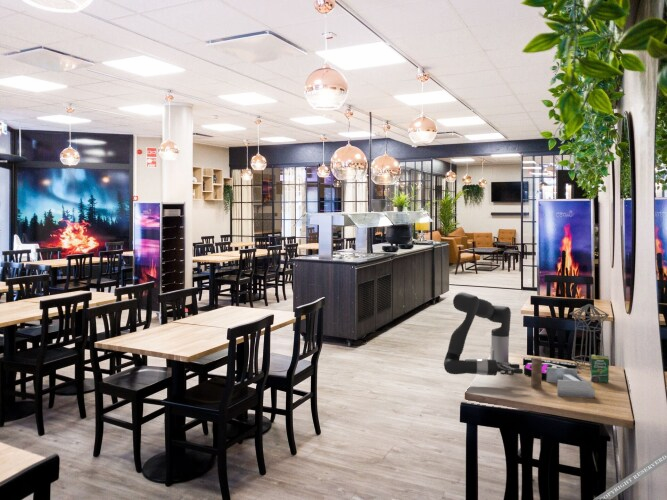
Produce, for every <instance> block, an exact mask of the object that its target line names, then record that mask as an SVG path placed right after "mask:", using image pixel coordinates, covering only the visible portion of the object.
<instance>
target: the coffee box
mask: <svg viewBox="0 0 667 500" xmlns="http://www.w3.org/2000/svg"><path fill="white" fill-rule="evenodd" d="M590 357H591V358H590V362H591V364H590V365H591V370H590V382H595V383H604V384H606V383H607V384H608V383H609V379H610V376H609V374H610V373H609V371H610V370H609V367H610V366H609V365H610V363H609V359H610V358H609V355H604V356H603V355H602V356H601V354H599V355H598V354H597V355H596V354H595V355H594V354H591V355H590Z"/></svg>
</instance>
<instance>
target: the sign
mask: <svg viewBox="0 0 667 500" xmlns="http://www.w3.org/2000/svg"><path fill="white" fill-rule="evenodd" d="M541 359H542V381H546V372H547V367H550V368H570V369H577V370H578V368H577V363H572V362H569V361H561V360H552V359H543V358H541ZM522 365H523V375H524V374H525V375H524V376H527V375H528V376H527V377H530V376H532V357H531V358H530V357H523V358H522ZM524 365H525V366H524Z"/></svg>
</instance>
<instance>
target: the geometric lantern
mask: <svg viewBox="0 0 667 500" xmlns="http://www.w3.org/2000/svg"><path fill="white" fill-rule="evenodd" d="M589 308H590V310H591V311H588V309H589ZM599 311H600V312H601V313H600V312H599ZM583 313H584V314H583ZM582 314H583V315H582ZM586 314H587V316H586ZM569 315H571V316H573V318H574V335H573V336H574V337H573V344H572V350H571V352H572V353H571V360H572V361H573V362H575V364H576V365H577V369H582V370H588V371H591V355H592V354H591V352H592V351H591V346H592V332H593V355H596V332H599V331H600V333H601V334H600V337H601V339H600V340H601V341H600V355H601V356H605V351H604V350H605V349H604V328H603V325H604V321H605V320H606V319H607V318H608V317H609V316H610V315H609V314H608V313H607V312H605V311H603V310H601V309H599V308H598V307H596V306H594V305H593V304H591V303H587V304H586V305H584V306H582V307H580V308H578V309H576V310H574V311H572V312H569ZM595 316H596V317H595ZM581 318H582V319H583V320H582V319H581ZM585 318H587V319H586V320H585ZM577 320H578V323H577ZM593 320H597V322H598V323H597V324H596V326H589V325H590V324H591V322H592V321H593ZM601 320H602V321H601ZM588 321H589V322H588ZM580 322H581V323H582V325H579V324H580ZM587 322H588V323H587ZM598 325H599V326H600V327H598ZM581 327H582V328H581ZM585 327H586V329H585ZM591 328H592V329H593V330H591ZM577 330H582V336H581V337H582V338H581V346H580V355H577V356H575V355H576V354H575V353H576V342H577V341H576V340H577ZM585 331H586V334H585V333H584V332H585ZM588 333H589V355H587V353H588V352H587V349H588ZM584 334H585V336H586V337H585V355H583V354H582V352H583V344H584ZM579 357H580V359H576V358H579ZM583 357H584V359H583ZM586 358H589V360H588V361H586ZM585 363H586V364H585ZM588 364H589V365H588ZM582 366H583V367H582ZM584 366H585V367H589V368H584Z"/></svg>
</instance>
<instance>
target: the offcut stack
mask: <svg viewBox="0 0 667 500" xmlns="http://www.w3.org/2000/svg"><path fill="white" fill-rule="evenodd" d="M563 380H573V381H580V380H578V379H576V378H575V377H573V376H571V375H563Z"/></svg>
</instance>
